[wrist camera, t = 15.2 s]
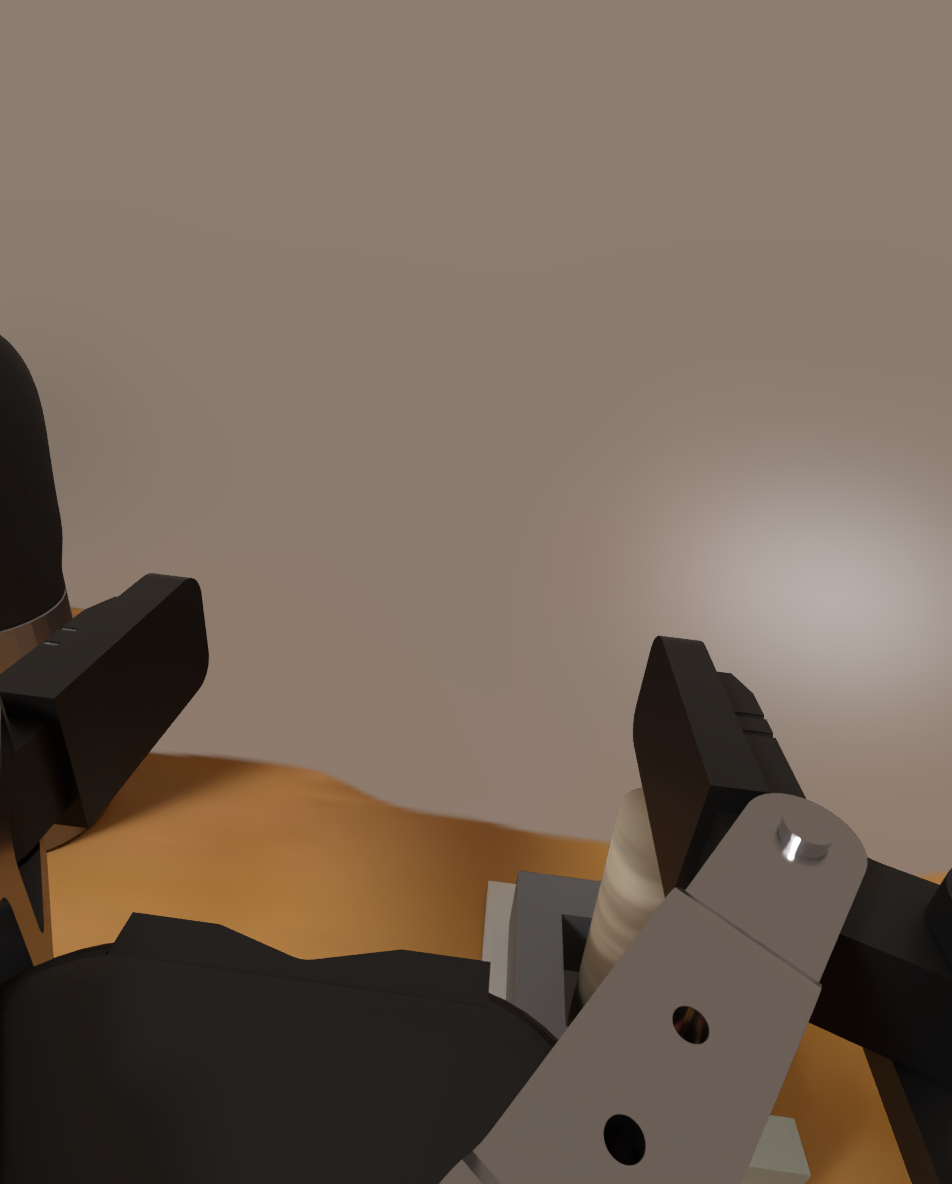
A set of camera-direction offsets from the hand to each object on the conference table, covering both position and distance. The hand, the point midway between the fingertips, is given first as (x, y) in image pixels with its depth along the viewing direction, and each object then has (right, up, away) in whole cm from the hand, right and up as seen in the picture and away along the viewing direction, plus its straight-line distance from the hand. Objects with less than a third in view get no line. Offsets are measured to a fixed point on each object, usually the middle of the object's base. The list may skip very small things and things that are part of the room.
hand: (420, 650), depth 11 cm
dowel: (+8, -23, +24) cm, 35 cm away
